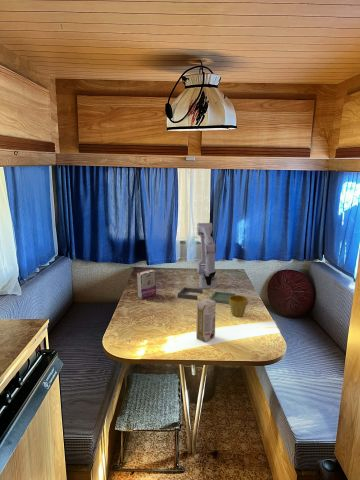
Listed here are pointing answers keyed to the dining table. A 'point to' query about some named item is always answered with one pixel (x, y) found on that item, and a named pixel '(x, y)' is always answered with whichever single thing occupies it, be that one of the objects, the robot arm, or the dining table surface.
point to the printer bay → (181, 295)
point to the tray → (221, 297)
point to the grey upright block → (213, 283)
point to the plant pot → (238, 305)
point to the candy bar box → (146, 284)
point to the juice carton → (205, 320)
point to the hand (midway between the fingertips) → (209, 284)
